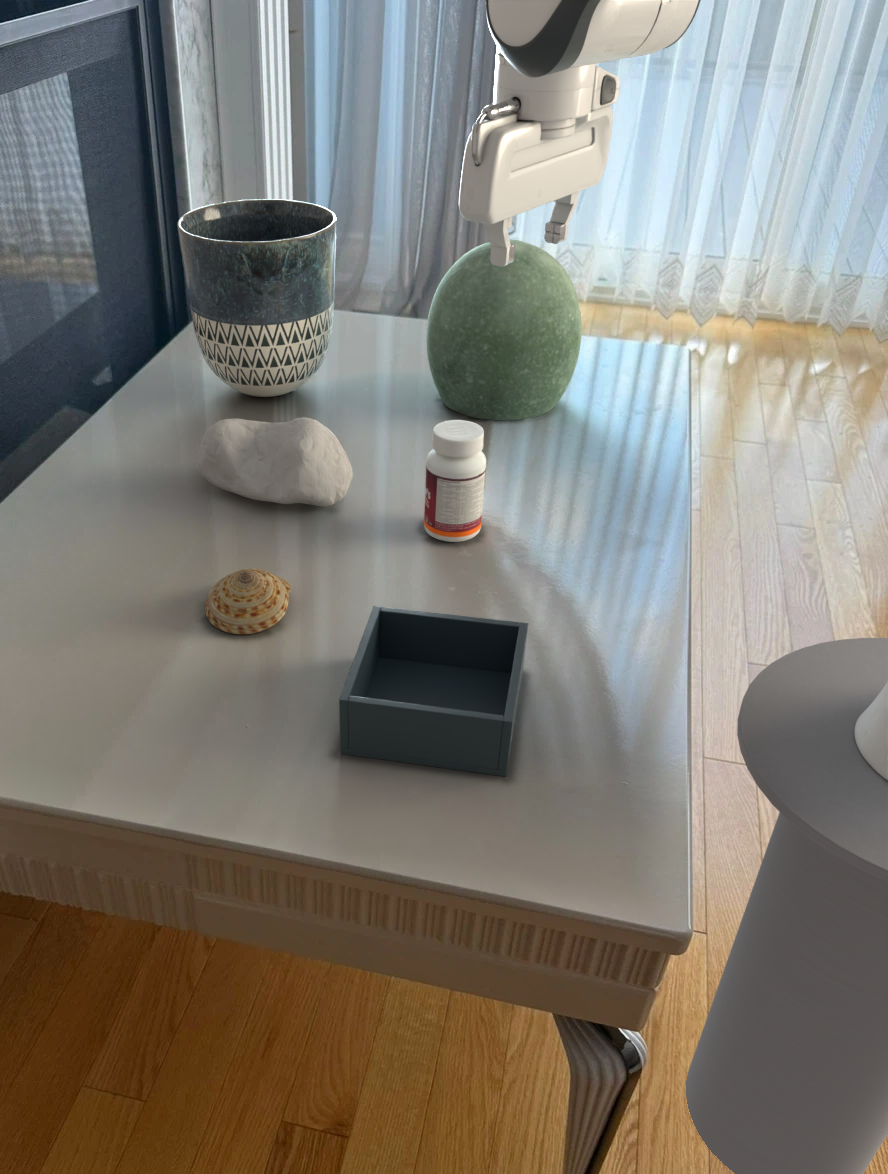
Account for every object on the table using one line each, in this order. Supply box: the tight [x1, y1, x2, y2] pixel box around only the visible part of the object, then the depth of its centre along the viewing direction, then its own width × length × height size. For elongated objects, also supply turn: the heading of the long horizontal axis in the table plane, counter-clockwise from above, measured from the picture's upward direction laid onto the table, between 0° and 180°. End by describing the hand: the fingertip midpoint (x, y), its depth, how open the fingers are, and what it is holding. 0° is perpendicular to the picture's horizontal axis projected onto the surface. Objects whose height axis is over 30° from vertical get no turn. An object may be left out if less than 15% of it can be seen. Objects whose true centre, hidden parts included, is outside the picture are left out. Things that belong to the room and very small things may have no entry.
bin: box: [338, 605, 529, 777], centre depth 87 cm, size 13×13×6 cm
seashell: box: [204, 568, 292, 635], centre depth 100 cm, size 8×6×8 cm
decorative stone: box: [197, 416, 354, 508], centre depth 117 cm, size 17×10×10 cm
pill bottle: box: [423, 419, 487, 543], centre depth 108 cm, size 6×6×11 cm
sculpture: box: [425, 238, 583, 421], centre depth 132 cm, size 19×16×20 cm
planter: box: [176, 198, 337, 398], centre depth 135 cm, size 20×20×21 cm
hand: (529, 252), depth 103 cm, fingers open, 8 cm apart
